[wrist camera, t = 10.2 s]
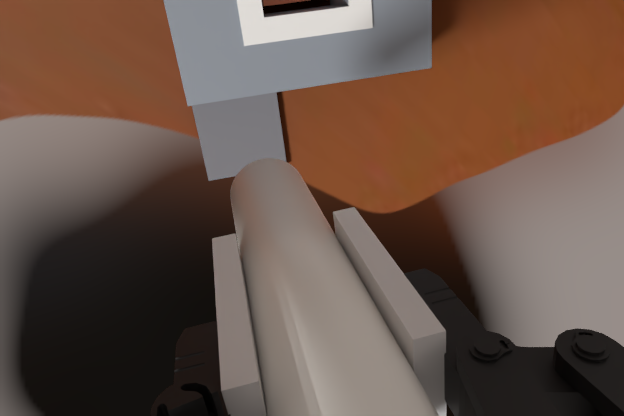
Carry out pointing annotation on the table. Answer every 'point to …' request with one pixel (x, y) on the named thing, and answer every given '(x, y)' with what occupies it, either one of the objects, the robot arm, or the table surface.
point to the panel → (294, 44)
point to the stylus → (313, 308)
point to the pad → (239, 133)
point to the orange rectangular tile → (278, 2)
